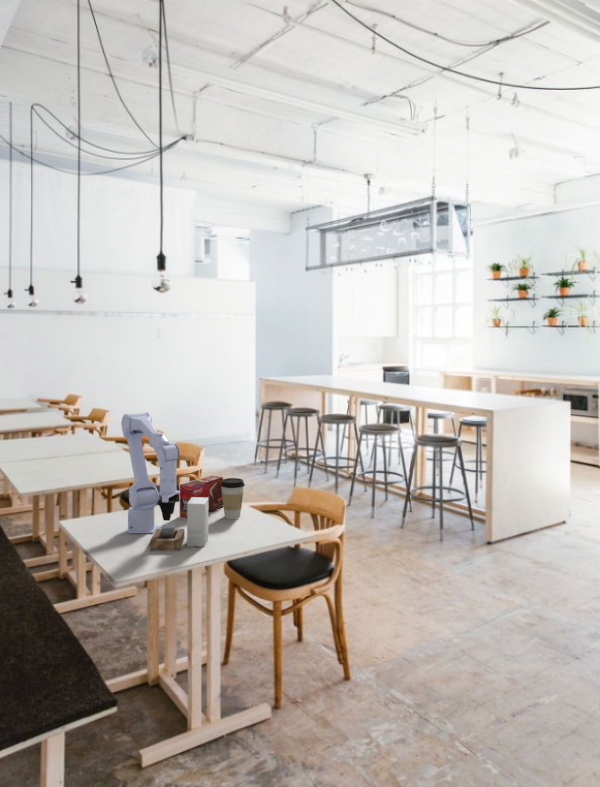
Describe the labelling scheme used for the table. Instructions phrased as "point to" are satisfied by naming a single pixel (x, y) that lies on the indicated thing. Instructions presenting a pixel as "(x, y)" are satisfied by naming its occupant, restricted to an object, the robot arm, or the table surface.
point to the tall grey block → (168, 532)
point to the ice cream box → (201, 493)
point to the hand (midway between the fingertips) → (168, 517)
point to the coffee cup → (232, 497)
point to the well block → (167, 540)
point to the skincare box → (197, 521)
